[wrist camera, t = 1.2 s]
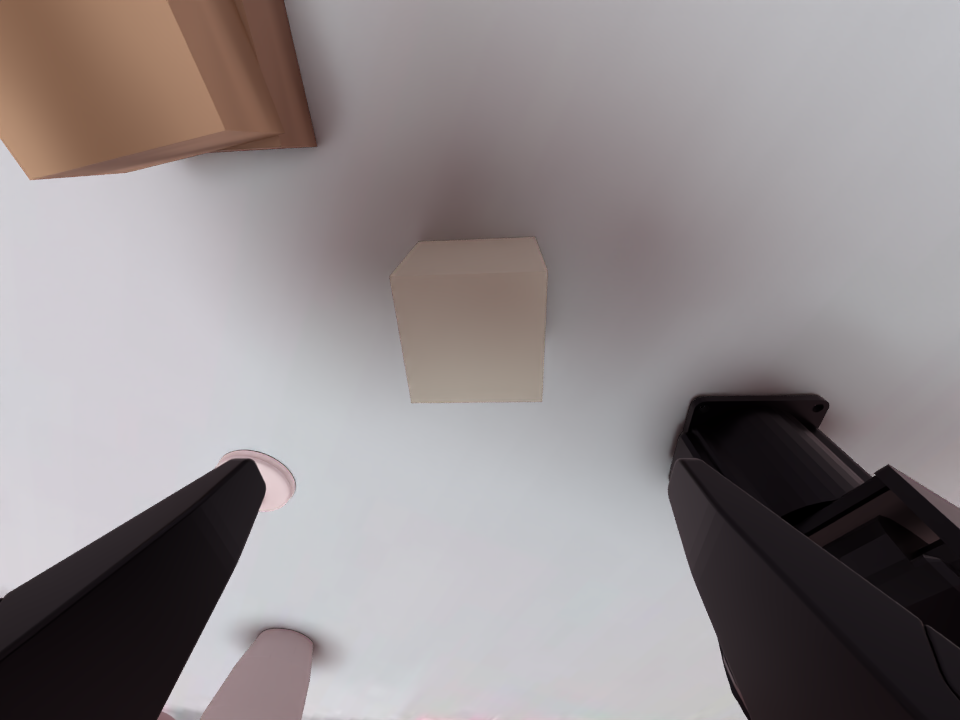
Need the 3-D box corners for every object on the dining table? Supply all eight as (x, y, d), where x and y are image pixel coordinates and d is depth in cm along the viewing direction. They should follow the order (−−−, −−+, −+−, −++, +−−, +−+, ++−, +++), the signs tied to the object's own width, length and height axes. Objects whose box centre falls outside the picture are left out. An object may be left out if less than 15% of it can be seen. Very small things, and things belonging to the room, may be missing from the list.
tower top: (175, -152, 9) (44, -271, 6) (285, 133, 12) (226, 130, 9) (-22, -77, 10) (-209, -156, 7) (125, 172, 13) (30, 180, 10)
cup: (225, 630, 35) (134, 790, 26) (287, 611, 33) (210, 780, 24) (287, 667, 38) (224, 819, 30) (347, 652, 36) (298, 813, 27)
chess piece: (253, 510, 26) (128, 694, 17) (201, 461, 24) (29, 644, 15) (311, 493, 25) (208, 681, 16) (262, 441, 22) (113, 626, 14)
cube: (534, 236, 16) (547, 271, 12) (532, 341, 18) (542, 401, 14) (419, 241, 16) (389, 276, 12) (432, 343, 19) (411, 403, 14)
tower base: (270, -74, 12) (205, -135, 9) (320, 146, 15) (282, 147, 12) (92, -56, 12) (-19, -111, 10) (176, 154, 15) (109, 156, 12)
